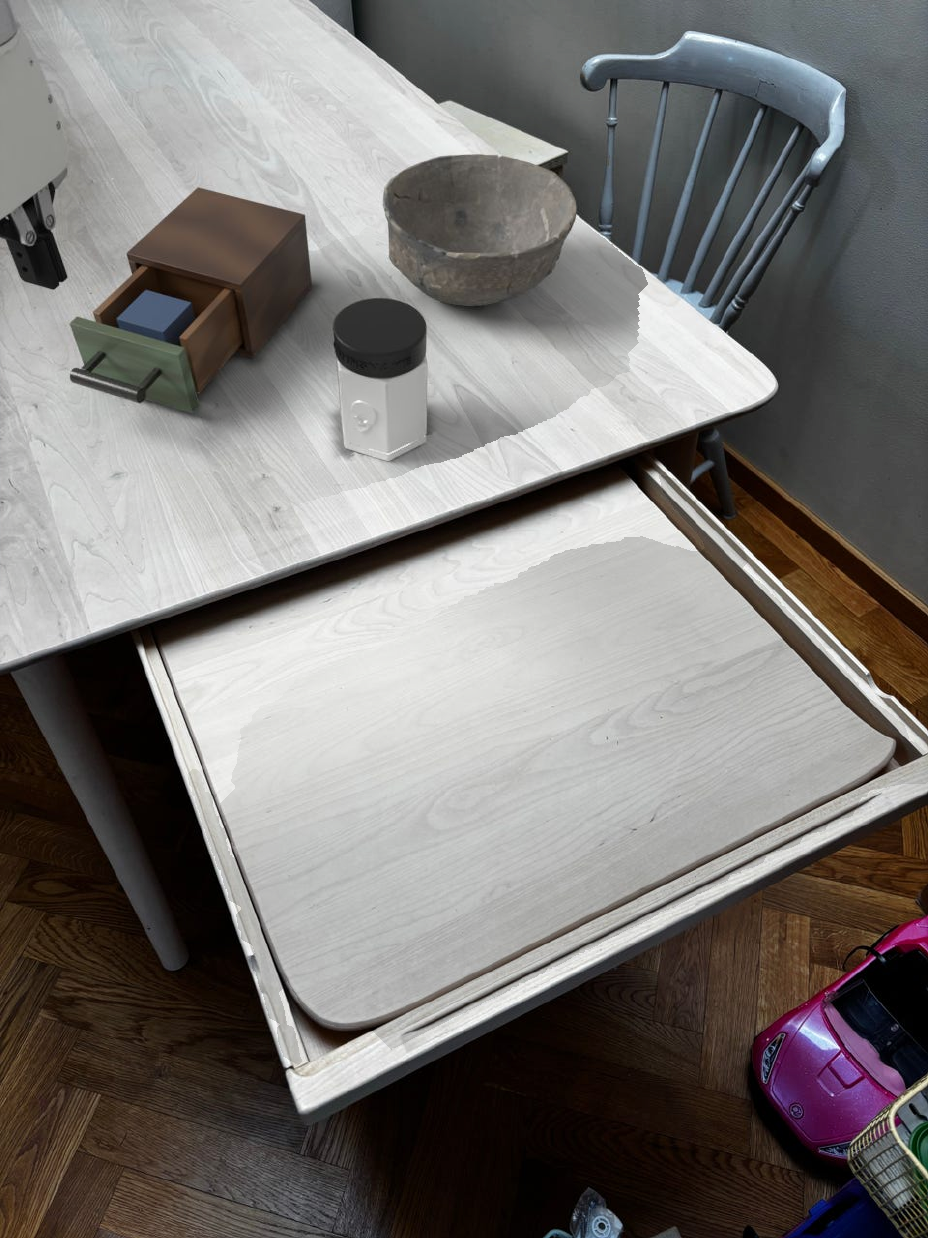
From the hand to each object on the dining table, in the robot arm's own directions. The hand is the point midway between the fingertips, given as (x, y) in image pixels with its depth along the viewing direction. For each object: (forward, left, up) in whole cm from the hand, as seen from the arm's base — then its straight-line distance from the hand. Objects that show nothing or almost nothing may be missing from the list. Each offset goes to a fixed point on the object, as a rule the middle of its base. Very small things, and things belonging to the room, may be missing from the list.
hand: (45, 279), depth 71 cm
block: (+7, +9, -15) cm, 19 cm away
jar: (+26, -4, -18) cm, 31 cm away
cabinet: (+15, +19, -18) cm, 30 cm away
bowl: (+42, +17, -18) cm, 48 cm away
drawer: (+6, +8, -17) cm, 20 cm away
